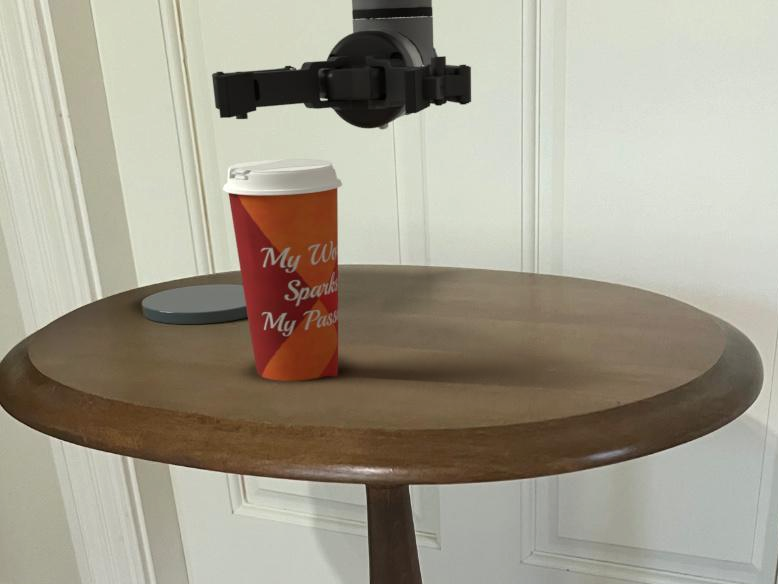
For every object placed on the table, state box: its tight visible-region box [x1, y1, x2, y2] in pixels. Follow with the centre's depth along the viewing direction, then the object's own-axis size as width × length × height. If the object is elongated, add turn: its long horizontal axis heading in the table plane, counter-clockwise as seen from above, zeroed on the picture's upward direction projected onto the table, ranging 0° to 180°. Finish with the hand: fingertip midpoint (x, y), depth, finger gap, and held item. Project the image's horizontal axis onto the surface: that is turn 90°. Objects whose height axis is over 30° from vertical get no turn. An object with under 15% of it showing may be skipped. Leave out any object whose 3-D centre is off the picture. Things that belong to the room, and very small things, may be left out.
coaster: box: [141, 283, 248, 325], centre depth 95 cm, size 11×11×1 cm
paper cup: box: [222, 158, 343, 382], centre depth 73 cm, size 8×8×14 cm
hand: (315, 94), depth 76 cm, fingers open, 13 cm apart
